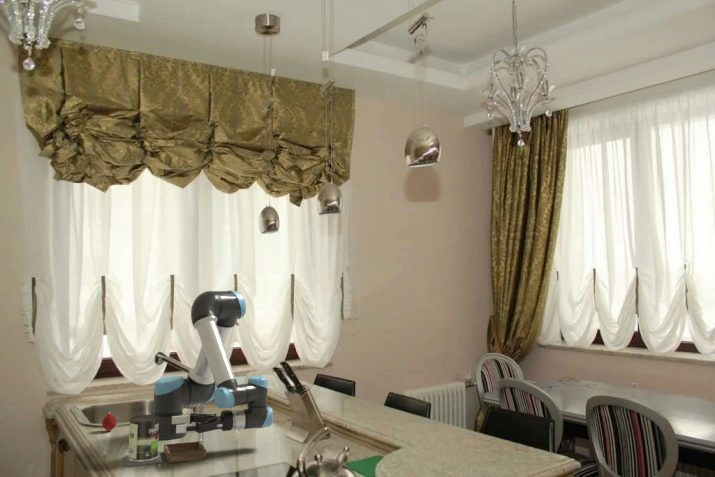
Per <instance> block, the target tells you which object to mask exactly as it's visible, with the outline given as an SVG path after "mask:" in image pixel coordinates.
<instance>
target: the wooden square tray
mask: <svg viewBox="0 0 715 477" xmlns="http://www.w3.org/2000/svg"><path fill="white" fill-rule="evenodd" d="M206 449H207V448H205V446H204V445H203V443H202V442H201V441H200V440H199V441H190V442H189V441H188V442H179V443H168V444H163V454H164V456H165V458H166V461H167V463H168V464H170V463H179V462H181V463H182V462H189V461H197V460H206V459H207V450H206Z"/></svg>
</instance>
